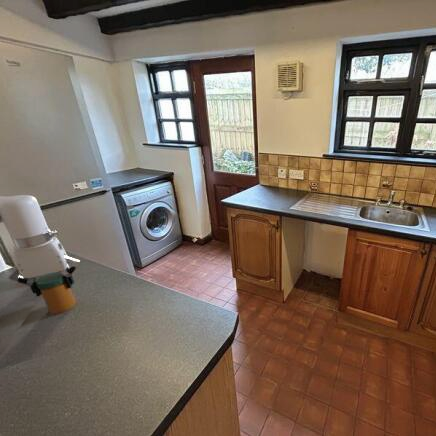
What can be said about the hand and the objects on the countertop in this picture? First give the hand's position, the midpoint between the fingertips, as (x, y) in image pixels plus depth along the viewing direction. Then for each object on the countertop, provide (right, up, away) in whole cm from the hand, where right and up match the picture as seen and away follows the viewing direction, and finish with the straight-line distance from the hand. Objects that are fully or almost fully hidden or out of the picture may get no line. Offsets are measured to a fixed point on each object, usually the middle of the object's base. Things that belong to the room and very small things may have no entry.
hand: (55, 289), depth 76 cm
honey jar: (0, -6, +3) cm, 7 cm away
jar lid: (0, +4, -2) cm, 4 cm away
